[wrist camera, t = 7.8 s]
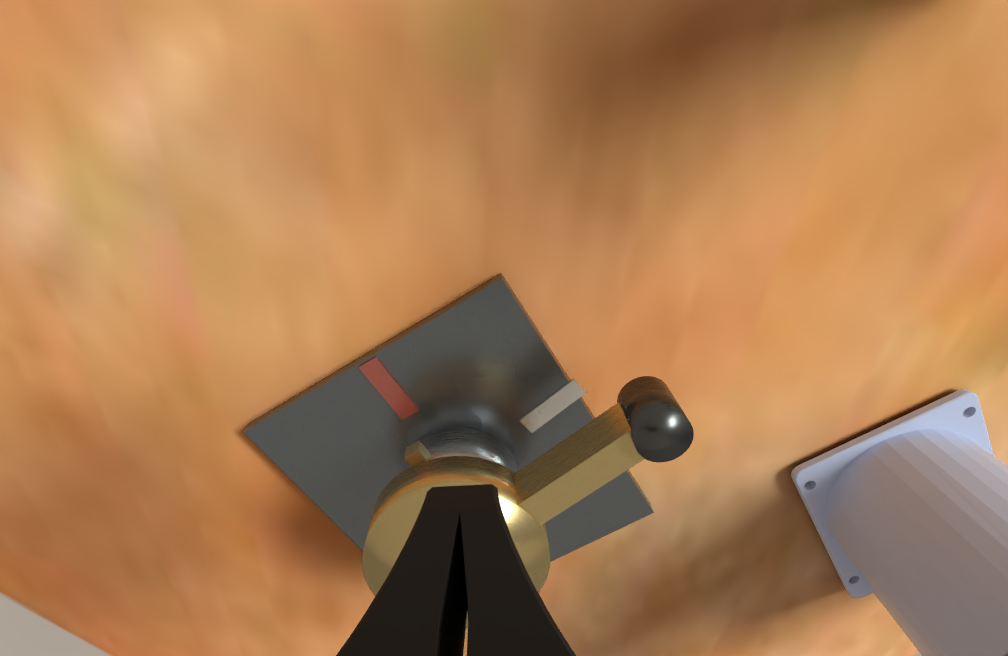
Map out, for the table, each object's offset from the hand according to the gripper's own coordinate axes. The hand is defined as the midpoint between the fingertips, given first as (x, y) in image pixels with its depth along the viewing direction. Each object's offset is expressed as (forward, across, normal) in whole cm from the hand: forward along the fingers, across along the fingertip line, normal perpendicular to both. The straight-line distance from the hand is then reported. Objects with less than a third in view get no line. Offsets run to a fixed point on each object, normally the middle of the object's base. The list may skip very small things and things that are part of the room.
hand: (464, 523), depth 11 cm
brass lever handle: (+7, -2, +5) cm, 9 cm away
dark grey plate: (+10, +1, +7) cm, 12 cm away
